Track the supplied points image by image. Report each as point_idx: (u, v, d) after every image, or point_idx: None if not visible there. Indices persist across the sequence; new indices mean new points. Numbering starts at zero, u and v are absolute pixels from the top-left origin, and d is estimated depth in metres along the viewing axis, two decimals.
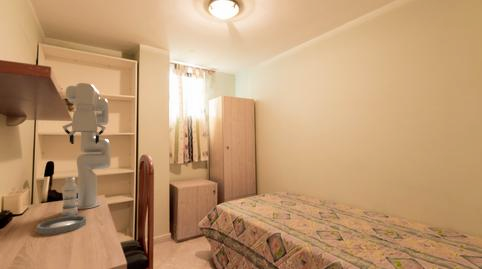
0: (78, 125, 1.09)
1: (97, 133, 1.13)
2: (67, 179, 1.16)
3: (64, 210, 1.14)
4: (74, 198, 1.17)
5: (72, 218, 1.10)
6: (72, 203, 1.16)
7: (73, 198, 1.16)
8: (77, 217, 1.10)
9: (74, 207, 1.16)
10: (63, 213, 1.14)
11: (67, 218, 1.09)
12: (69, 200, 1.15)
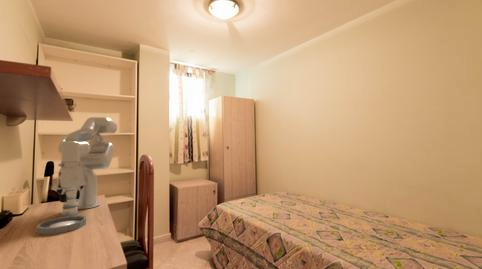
0: None
1: None
2: None
3: (64, 210, 1.14)
4: (74, 198, 1.17)
5: (72, 218, 1.10)
6: (72, 203, 1.16)
7: (73, 198, 1.16)
8: (77, 217, 1.10)
9: (74, 207, 1.16)
10: (63, 213, 1.14)
11: (67, 218, 1.09)
12: (69, 200, 1.15)
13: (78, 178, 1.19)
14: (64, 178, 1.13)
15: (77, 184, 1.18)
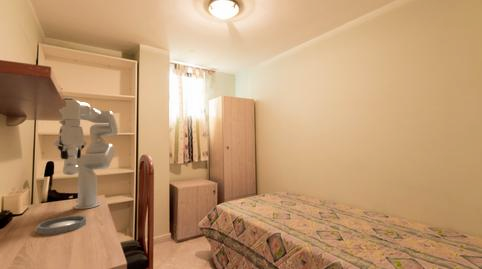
0: None
1: None
2: None
3: (65, 167, 1.15)
4: (75, 156, 1.18)
5: (72, 218, 1.10)
6: (73, 161, 1.17)
7: (74, 156, 1.18)
8: (77, 217, 1.10)
9: (75, 165, 1.18)
10: (64, 170, 1.15)
11: (67, 218, 1.09)
12: (70, 157, 1.16)
13: (79, 137, 1.20)
14: (65, 135, 1.14)
15: (78, 142, 1.19)
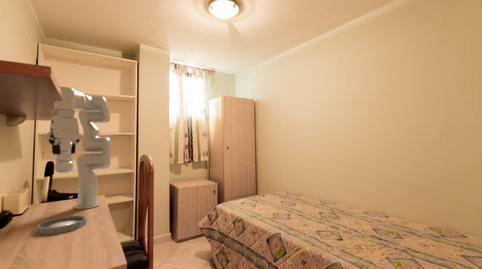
0: None
1: None
2: None
3: (57, 163, 1.01)
4: (69, 151, 1.04)
5: (72, 218, 1.10)
6: (67, 156, 1.03)
7: (68, 151, 1.03)
8: (77, 217, 1.10)
9: (69, 161, 1.03)
10: (56, 166, 1.00)
11: (67, 218, 1.09)
12: (63, 152, 1.02)
13: (73, 129, 1.05)
14: (57, 127, 1.00)
15: (72, 136, 1.05)
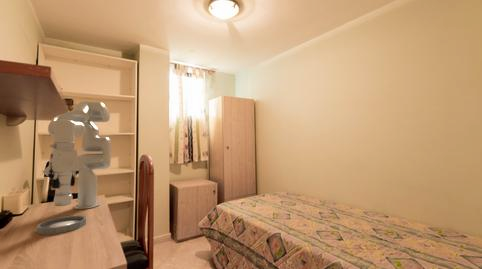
0: None
1: None
2: None
3: (57, 197, 1.00)
4: (68, 184, 1.03)
5: (72, 218, 1.10)
6: (66, 190, 1.02)
7: (67, 184, 1.02)
8: (77, 217, 1.10)
9: (68, 194, 1.02)
10: (55, 201, 1.00)
11: (67, 218, 1.09)
12: (62, 186, 1.01)
13: (73, 162, 1.05)
14: (57, 161, 0.99)
15: (72, 168, 1.04)
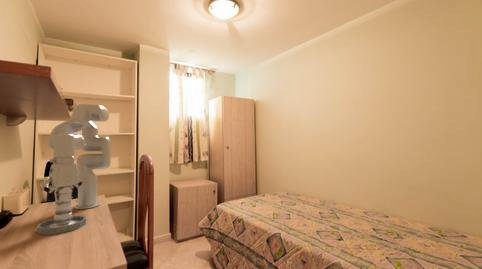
0: None
1: None
2: None
3: (57, 216, 1.00)
4: (68, 202, 1.03)
5: (72, 218, 1.10)
6: (66, 208, 1.02)
7: (68, 202, 1.02)
8: (77, 217, 1.10)
9: (68, 212, 1.02)
10: (56, 219, 1.00)
11: None
12: (63, 205, 1.01)
13: (73, 176, 1.04)
14: (56, 176, 0.99)
15: (71, 182, 1.04)
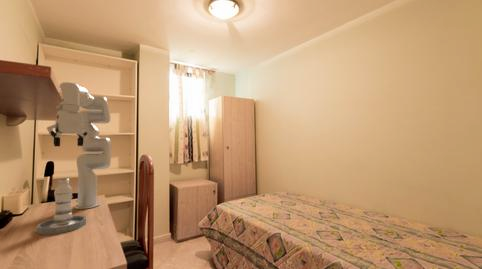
0: None
1: None
2: (60, 181, 1.02)
3: (57, 216, 1.00)
4: (68, 202, 1.03)
5: (72, 218, 1.10)
6: (66, 208, 1.02)
7: (67, 202, 1.02)
8: (77, 217, 1.10)
9: (68, 212, 1.02)
10: (56, 219, 1.00)
11: None
12: (62, 205, 1.01)
13: (78, 124, 1.08)
14: (62, 121, 1.02)
15: (77, 130, 1.07)
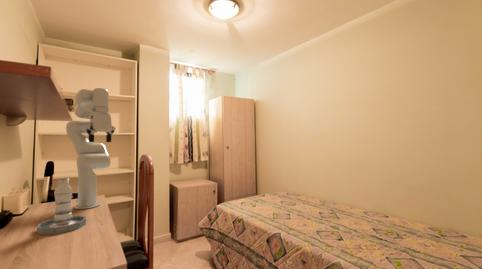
0: None
1: None
2: (60, 181, 1.02)
3: (57, 216, 1.00)
4: (68, 202, 1.03)
5: (72, 218, 1.10)
6: (66, 208, 1.02)
7: (67, 202, 1.02)
8: (77, 217, 1.10)
9: (68, 212, 1.02)
10: (56, 219, 1.00)
11: None
12: (62, 205, 1.01)
13: (108, 123, 1.27)
14: (96, 121, 1.21)
15: (107, 129, 1.27)
